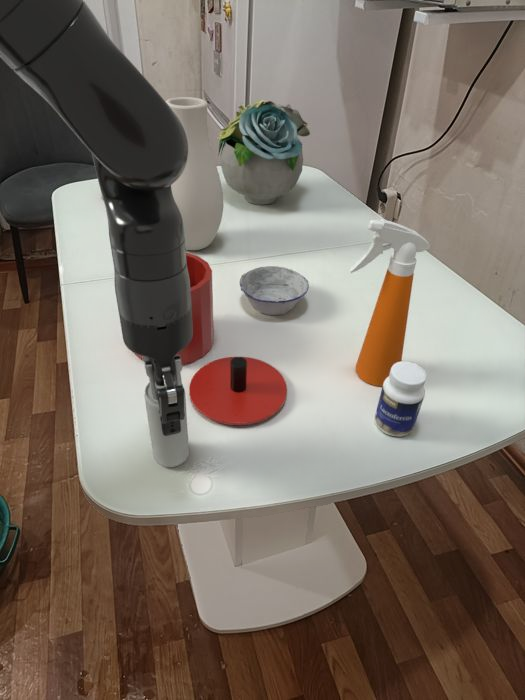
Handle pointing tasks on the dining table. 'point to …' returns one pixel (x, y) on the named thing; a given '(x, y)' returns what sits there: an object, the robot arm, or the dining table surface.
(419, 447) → the dining table surface
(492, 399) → the dining table surface
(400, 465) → the dining table surface
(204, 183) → the vase
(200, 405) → the lid
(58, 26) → the robot arm
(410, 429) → the pill bottle
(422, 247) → the spray bottle
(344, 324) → the dining table surface
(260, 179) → the flower arrangement
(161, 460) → the beverage can
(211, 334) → the pot
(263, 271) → the bowl
